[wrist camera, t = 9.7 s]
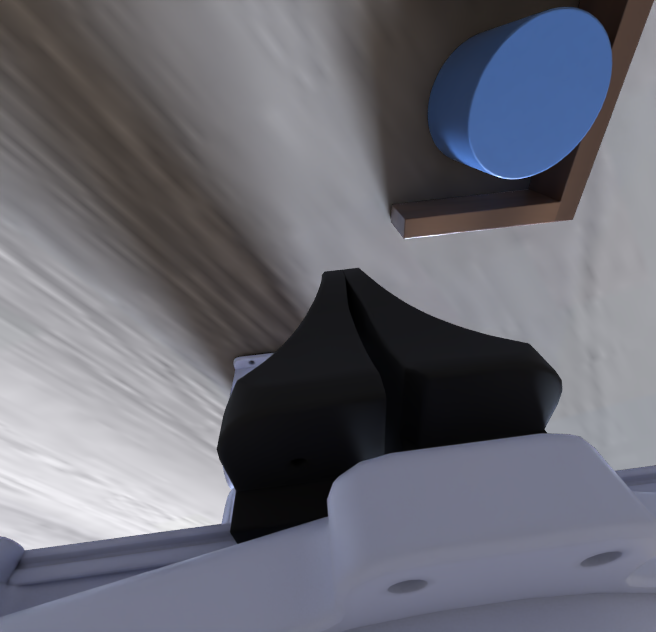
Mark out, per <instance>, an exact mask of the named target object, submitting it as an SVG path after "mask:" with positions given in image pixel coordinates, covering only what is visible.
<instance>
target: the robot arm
mask: <svg viewBox="0 0 656 632" xmlns="http://www.w3.org/2000/svg"><path fill="white" fill-rule="evenodd" d="M250 361H254V362H250ZM233 364H234V367H235V375H234V379H233V384H232V389H231V393H230V398H229V401H228V404H227V406H226V409H225V413H224V416H223V420H222V425H221V431H220V436H219V441H218V446H217V452H218V456H219V459H220V461H221V463H222V465H223V470H224V474H225V478H226V481H227V484H228V486H229V487H230V488H231V489H232V490H231V491H230V493H229V495H228V497H227V501H226V505H225V509H224V514H223V519H222V524H217V525H210V526H203V527H195V528H188V529H180V530H173V531H166V532H158V533H151V534H143V535H136V536H129V537H121V538H114V539H106V540H99V541H92V542H84V543H77V544H69V545H62V546H55V547H47V548H40V549H32V550H24V548H23V547H22V546H21V545H19V544H18V543H17V542H15V541H13V540H11V539H9V538H6V537H1V536H0V632H656V465H654V466H647V467H640V468H632V469H625V470H617V471H614V470H613V469H612V467H611V466H610V465H609V464H608V463H607V462H606V460H605V459H604V458H603V457H602V456H601V454H600V453H599V452H598V451H597V450H596V449H595V448H594V447H593V446H592V445H591V444H589V443H588V442H587V441H585V440H584V439H583V438H582V437H580V436H576V435H571V434H547V432H546V431H545V430H544V429H545V427H546V425H547V423H548V421H549V419H550V418H551V416H552V414H553V412H554V410H555V408H556V406H557V404H558V402H559V399H560V396H561V393H562V380H561V378H560V377H559V375H558V374H557V372H556V371H555V370H554V369H553V368H552V367H551V366H550V365H549V364H548V363H547V362H546V361H545V360H544V358H543V357H542V356H541V355H540V354H539V353H538V352H537V351H536V350H535V349H534V348H533V347H532V346H531V345H530V344H528V343H523V342H519V341H514V340H509V339H504V338H500V337H495V336H490V335H486V334H483V333H479V332H476V331H472V330H469V329H465V328H462V327H459V326H456V325H453V324H451V323H448V322H446V321H443V320H440V319H438V318H435V317H433V316H431V315H428V314H426V313H424V312H422V311H420V310H418V309H416V308H414V307H412V306H411V305H409V304H407V303H405V302H404V301H402V300H400V299H399V298H397V297H396V296H394V295H393V294H391V293H390V292H388V291H387V290H385V289H384V288H383V287H381V286H380V285H379V284H378V283H376V282H375V281H374V280H373V279H371V278H370V277H369V276H368V275H367V274H365V273H364V272H363V271H362V270H361V269H359V268H353V269H345V270H336V271H327V272H324V273H323V274H322V280H321V284H320V287H319V290H318V293H317V295H316V297H315V300H314V302H313V304H312V306H311V307H310V309H309V311H308V313H307V315H306V316H305V318H304V319H303V321H302V322H301V324H300V325H299V327H298V328H297V329H296V331H295V332H294V333H293V334H292V335H291V337H290V338H289V339H288V340H287V341H286V342H285V343H284V344H283V345H282V347H281V348H279V349H278V350H277V351H276V352H275V353H268V354H260V355H251V356H243V357H237V358H235V359H234V363H233Z"/></svg>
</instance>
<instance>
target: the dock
mask: <svg viewBox="0 0 656 632" xmlns="http://www.w3.org/2000/svg"><path fill="white" fill-rule="evenodd" d="M653 2H654V0H580V3H579V7H578V8H579V9H582V10H585V11H587V12H589V13H590V14H592V15H593V16H594V17H596V18H597V19H598V20H599V21H600V23H601V24H602V25H603V27H604V28H605V30H606V32H607V34H608V37H609V40H610V43H611V50H612V73H611V79H610V84H609V88H608V91H607V95H606V98H605V100H604V103H603V105H602V108H601V110H600V112H599V114H598V116H597V118H596V119H595V121H594V123H593V124H592V126H591V128H590V129H589V131H588V132H587V133H586V135H585V136H584V137H583V139H582V140H581V141H580V142H579V143H578V144H577V146H576V147H575V148H574V149H573V150H572V151H571V152H570V153H569V154H568V155H566V156H565V157H564V158H563V159H562V160H560V161H559V162H558V163H556V164H555V165H553V166H552V167H550V168H548V169H546V170H545V171H543V172H540V173H538V174H536V175H533V176H532V179H531V182H530V186H529V189H527V190H518V191H509V192H500V193H491V194H482V195H473V196H464V197H455V198H446V199H437V200H428V201H419V202H410V203H401V204H393V205H392V211H391V223H392V224H393V225H394V227H395V228H396V229H397V231H398V232H399V233H400V234H401V236H402V237H403V238H404V239H408V238H417V237H426V236H435V235H443V234H452V233H461V232H470V231H478V230H487V229H496V228H505V227H513V226H522V225H531V224H539V223H548V222H557V221H566V220H573V217H574V215H575V212H576V209H577V207H578V204H579V201H580V199H581V196H582V193H583V190H584V188H585V185H586V182H587V180H588V177H589V174H590V172H591V169H592V166H593V164H594V161H595V158H596V155H597V153H598V150H599V147H600V145H601V142H602V139H603V137H604V134H605V131H606V128H607V126H608V123H609V120H610V118H611V115H612V112H613V110H614V107H615V104H616V101H617V99H618V96H619V93H620V91H621V88H622V85H623V83H624V80H625V77H626V74H627V72H628V69H629V66H630V64H631V61H632V58H633V56H634V53H635V50H636V47H637V45H638V42H639V39H640V37H641V34H642V31H643V29H644V26H645V23H646V20H647V18H648V15H649V12H650V10H651V7H652V4H653Z"/></svg>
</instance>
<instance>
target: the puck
mask: <svg viewBox="0 0 656 632" xmlns="http://www.w3.org/2000/svg"><path fill="white" fill-rule="evenodd" d="M611 73H612V50H611V43H610V40H609V37H608V34H607V32H606V30H605V28H604V27H603V25H602V24H601V23H600V21H599V20H598V19H597V18H596V17H594V16H593V15H592V14H590V13H589V12H587V11H585V10H582V9H579V8H575V7H558V8H553V9H549V10H546V11H543V12H540V13H537V14H534V15H531V16H528V17H526V18H523V19H520V20H517V21H514V22H511V23H508V24H505V25H502V26H499V27H496V28H493V29H490V30H488V31H485V32H482V33H479V34H477V35H475V36H473V37H471V38H469V39H468V40H467V41H465V42H464V43H462V44H461V45H460V46H459V47H458V48H457V49H456V50H455V51H454V52H453V53H452V54H451V55H450V56H449V58H448V59H447V60H446V62H445V63H444V64H443V66H442V68H441V70H440V71H439V73H438V75H437V77H436V79H435V82H434V84H433V87H432V90H431V94H430V98H429V105H428V124H429V129H430V133H431V136H432V139H433V141H434V143H435V144H436V146H437V147H438V149H439V150H440V151H441V152H442V153H443V154H444V155H446V156H447V157H449V158H451V159H453V160H455V161H458V162H460V163H463V164H465V165H468V166H470V167H473V168H476V169H478V170H481V171H483V172H486V173H488V174H491V175H493V176H496V177H499V178H503V179H521V178H526V177H530V176H533V175H536V174H538V173H540V172H543V171H545V170H546V169H548V168H550V167H552V166H553V165H555V164H556V163H558V162H559V161H560V160H562V159H563V158H564V157H565V156H566V155H568V154H569V153H570V152H571V151H572V150H573V149H574V148H575V147H576V146H577V144H578V143H579V142H580V141H581V140H582V139H583V137H584V136H585V135H586V133H587V132H588V131H589V129H590V128H591V126H592V124H593V123H594V121H595V119H596V118H597V116H598V114H599V112H600V110H601V108H602V105H603V103H604V100H605V98H606V95H607V91H608V88H609V84H610V79H611Z"/></svg>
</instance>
